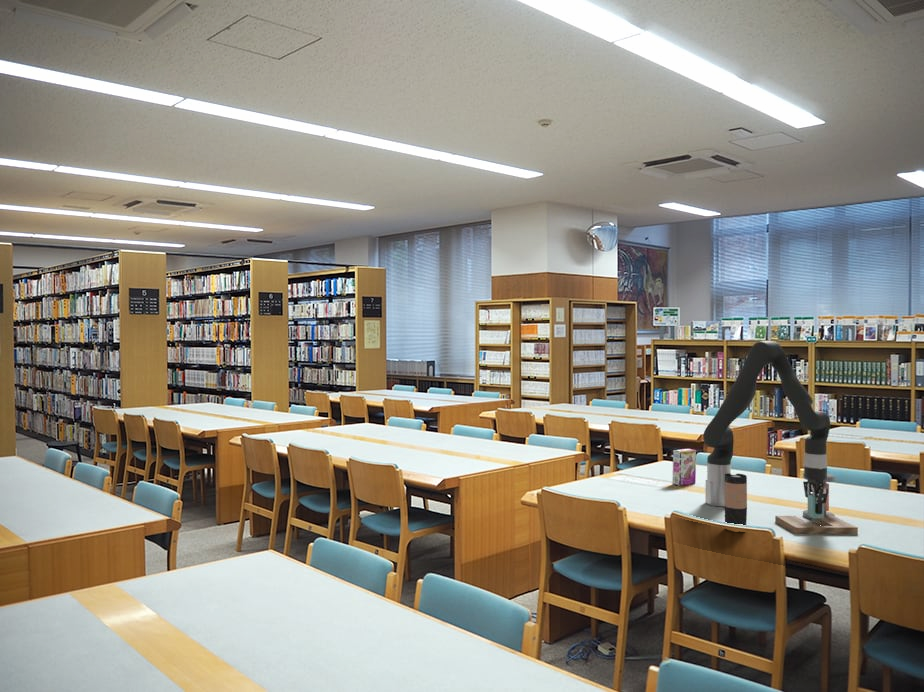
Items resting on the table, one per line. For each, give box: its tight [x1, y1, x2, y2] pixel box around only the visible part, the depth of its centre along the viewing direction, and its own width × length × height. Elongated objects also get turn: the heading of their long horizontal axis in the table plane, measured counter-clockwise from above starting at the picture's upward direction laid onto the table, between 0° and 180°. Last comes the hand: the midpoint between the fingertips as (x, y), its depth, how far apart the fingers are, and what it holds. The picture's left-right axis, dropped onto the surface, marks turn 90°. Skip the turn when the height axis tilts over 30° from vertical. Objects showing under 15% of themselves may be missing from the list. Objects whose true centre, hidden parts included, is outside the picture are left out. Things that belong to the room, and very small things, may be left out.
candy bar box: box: [671, 448, 697, 487], centre depth 326 cm, size 11×5×16 cm, turn 122°
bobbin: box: [802, 472, 836, 521], centre depth 265 cm, size 11×11×16 cm
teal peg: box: [807, 494, 824, 518], centre depth 250 cm, size 4×4×8 cm
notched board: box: [774, 515, 859, 535], centre depth 251 cm, size 22×16×2 cm
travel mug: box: [723, 473, 748, 526], centre depth 249 cm, size 8×8×20 cm
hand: (815, 512), depth 250 cm, fingers closed on teal peg, 4 cm apart
